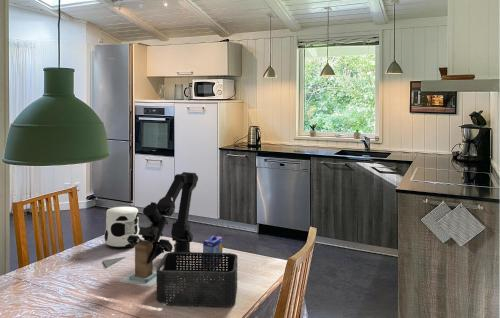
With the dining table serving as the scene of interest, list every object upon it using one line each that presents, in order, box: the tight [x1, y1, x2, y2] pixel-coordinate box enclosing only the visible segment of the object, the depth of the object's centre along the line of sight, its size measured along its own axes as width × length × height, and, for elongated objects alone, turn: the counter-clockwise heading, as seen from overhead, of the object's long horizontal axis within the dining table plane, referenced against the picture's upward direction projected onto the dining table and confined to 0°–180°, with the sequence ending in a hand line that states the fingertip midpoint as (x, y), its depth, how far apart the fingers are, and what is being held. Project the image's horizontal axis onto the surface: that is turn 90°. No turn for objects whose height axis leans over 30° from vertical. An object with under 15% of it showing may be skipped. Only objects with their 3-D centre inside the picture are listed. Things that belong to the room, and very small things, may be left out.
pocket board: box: [118, 270, 157, 288], centre depth 166 cm, size 14×14×2 cm
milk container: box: [104, 206, 141, 249], centre depth 206 cm, size 17×17×18 cm
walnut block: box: [134, 241, 154, 278], centre depth 165 cm, size 5×5×14 cm
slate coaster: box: [102, 256, 126, 269], centre depth 182 cm, size 10×10×1 cm
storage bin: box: [155, 251, 238, 308], centre depth 153 cm, size 29×19×13 cm
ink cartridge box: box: [202, 233, 224, 268], centre depth 182 cm, size 10×6×14 cm, turn 158°
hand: (141, 262), depth 164 cm, fingers open, 5 cm apart
